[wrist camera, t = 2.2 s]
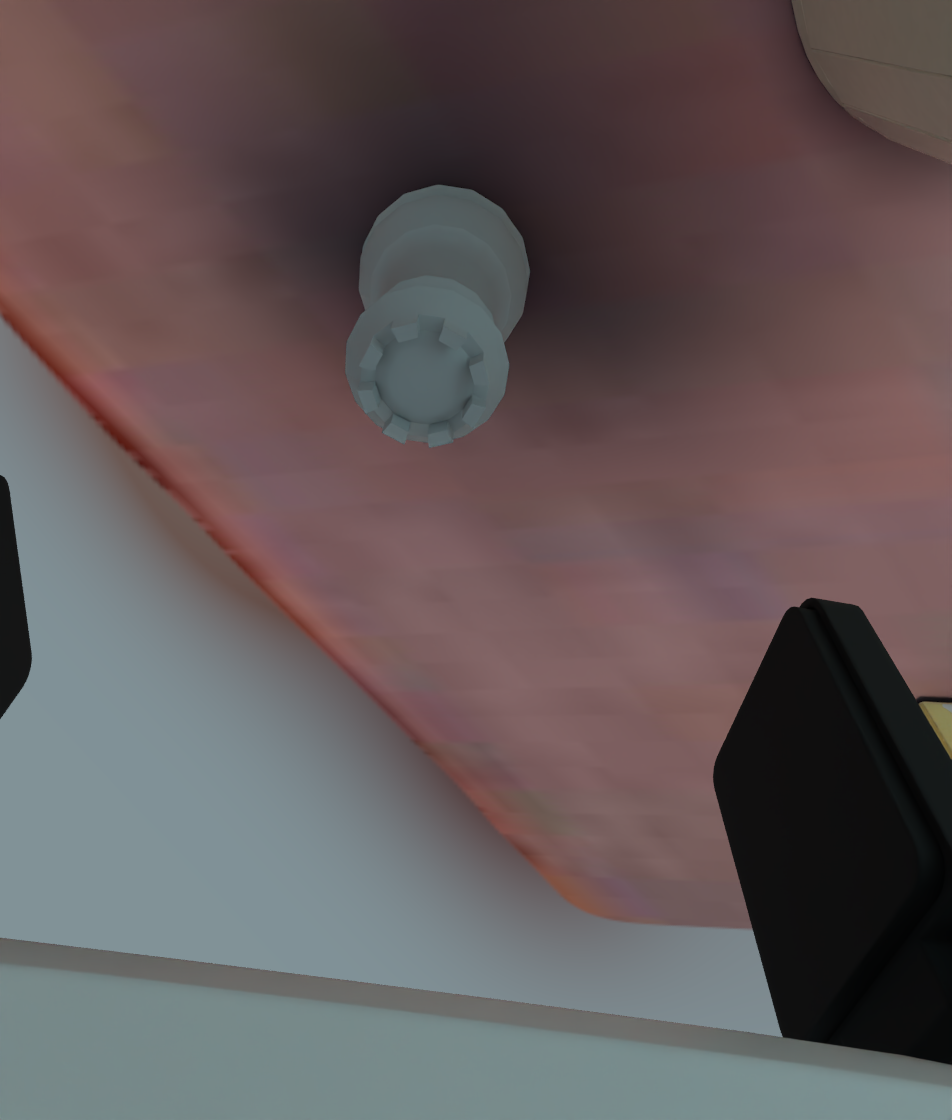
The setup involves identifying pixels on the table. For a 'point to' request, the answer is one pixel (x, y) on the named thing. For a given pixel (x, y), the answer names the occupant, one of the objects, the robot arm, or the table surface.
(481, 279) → the rook chess piece
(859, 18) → the mug
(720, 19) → the table surface
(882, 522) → the table surface
